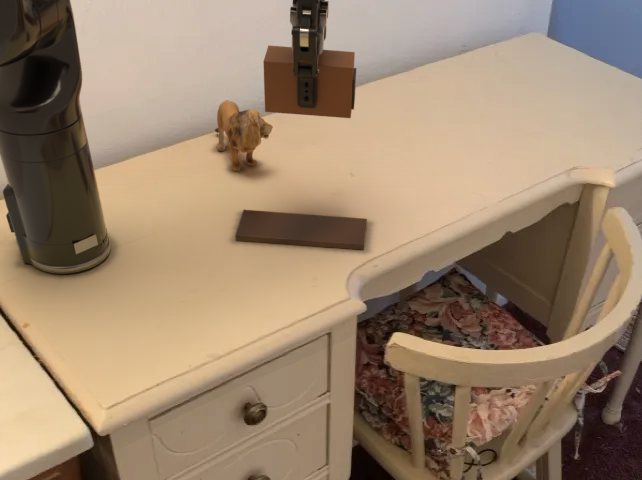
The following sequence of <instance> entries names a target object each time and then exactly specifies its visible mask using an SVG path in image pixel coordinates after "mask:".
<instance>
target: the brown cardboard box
mask: <svg viewBox="0 0 642 480" xmlns="http://www.w3.org/2000/svg"><path fill="white" fill-rule="evenodd" d="M355 53H356V52H355V51H345V50H335V49H334V50H331V49H324V50H323V52H322V53H321V54H320V55H319V64H318V69H319V74H318V77H317V105H316V107H315V108H302V107H299V106H298V104H297V77H296V76H294V73H293V68H294V59H293V51H292V46H282V45H268V46H267V49H266V51H265V56H264V58H263V84H264V85H263V90H264V112H265V113H274V114H287V115H302V116H315V117H326V118H327V117H329V118H340V119H351V117H352V110H355V103H356V101H355V100H356V89H357V87H356V86H357V85H356V84H357V67H355V57H356V56H355V55H356V54H355ZM301 64H305V65H312V62H311V61H309V60H301Z"/></svg>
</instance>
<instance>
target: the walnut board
mask: <svg viewBox="0 0 642 480" xmlns="http://www.w3.org/2000/svg"><path fill="white" fill-rule="evenodd" d="M367 227H368V218H362V217H347V216H336V215H335V216H334V215H321V214H308V213H295V212H281V211H280V212H278V211H268V210H267V211H266V210H254V209H243V210H242V213H241V217H240V220H239V223H238V226H237V229H236V232H235V234H234V238H235V241H238V242H252V243H265V244H266V243H267V244H281V245H292V246H293V245H294V246H306V247H319V248H320V247H321V248H332V249H333V248H335V249H346V250H362V251H364V250H365V244H366V236H367V235H366V234H367Z"/></svg>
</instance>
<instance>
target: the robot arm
mask: <svg viewBox="0 0 642 480" xmlns="http://www.w3.org/2000/svg"><path fill="white" fill-rule="evenodd" d="M329 10H330V1H329V0H292V6H290V8H289V22H290V25H291V31H290V32H291V33H290V34H291V47H292V51H293V59H294V68H293V73H294V76H296V77H297V104H298V106H299V107H302V108H315V107H316V105H317V77H318V74H319V69H318V64H319V55H320V54H321V53H322V52H323V50H325V49H324V47H325V45H324V44H325V40H326V38H327V30H328V29H327V28H328V27H327V26H328V24H327V23H328V18H329V12H330V11H329ZM74 16H75V15H74V11H73V7H72V3H71V0H0V160H1V163H2V167H3V170H4V174H5V177H6V181H7V183H6V185H5V187H4V188H3V190H2V195H3V200H4V202H5V203H4V204H5V205H6V209H7V213H6V214H5V216H6V220H7V223H8V227H9V230H10V233H14V235H15V239H16V244H17V246H18V249H19V252H20V256H21V259H22V262H23V263H24V264H30V265H32V266H34V267H35V268H36V269H38V270H40V271H43V272H46V273H51V274H60V275H62V274H65V275H66V274H74V273H79V272H84V271H88V270H90V269H91V268H94V267H96V266H97V265H99V264H101V263H102V262H103V261H105V260H106V259H107V257H108V256H109V255H110V253H111V241H110V237H109V233H108V230H107V229H108V228H107V227H106V222H105V215H104V211H103V206H102V202H101V197H100V191H99V187H98V182H97V177H96V173H95V168H94V163H93V158H92V154H91V149H90V145H89V139H88V135H87V130H86V125H85V121H84V115H83V111H82V105H81V100H80V99H81V92H82V87H83V68H82V61H81V55H80V48H79V42H78V36H77V35H78V34H77V29H76V22H75V17H74ZM301 60H309V61H311V62H312V65H305V64H301Z"/></svg>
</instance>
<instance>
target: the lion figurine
mask: <svg viewBox="0 0 642 480" xmlns="http://www.w3.org/2000/svg"><path fill="white" fill-rule="evenodd" d="M216 122H217V128H214V132H216V134H218V142H217V146H216V150H217V152H223V151H225V150H226V146H225V135H226V138H227V140H228V145H229V152H230V158H231V170H232V171H233V172H239V171H241V163H240V161H239V151H240V153H243V154H246V156H245V162H246V163H247V165H249V166H250V167H254V166H256V165H257V164H258V161H257V160H256V159H254V158H253V154H254V151H255V150H256V148H257V147H258V146H260V145H261V144H262V138H263V139H265V140H268V139H269V137H270V134H271V133H272V131H273V128H274V126H273V125H272V124H270V123H268V122H267V121H265V119H264V118H263V117H261V116H260V111H258V110H257V109H250V108H248V109H245V110H242V111H241V110H240V109H239V106H238V104H237V103H236V102H234V101H232V100H224V101H222V102H221V103H220V104H219V106H218V109H217V116H216Z"/></svg>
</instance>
